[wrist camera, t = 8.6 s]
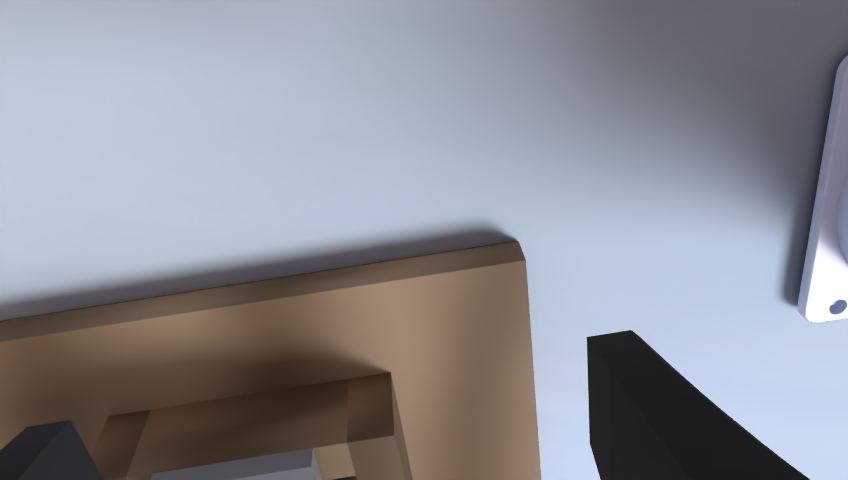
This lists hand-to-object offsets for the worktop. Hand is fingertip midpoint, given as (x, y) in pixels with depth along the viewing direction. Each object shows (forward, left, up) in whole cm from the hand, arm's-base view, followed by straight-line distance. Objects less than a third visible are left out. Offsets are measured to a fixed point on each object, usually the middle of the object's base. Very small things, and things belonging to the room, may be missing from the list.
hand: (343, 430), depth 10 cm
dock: (+4, +11, -9) cm, 14 cm away
